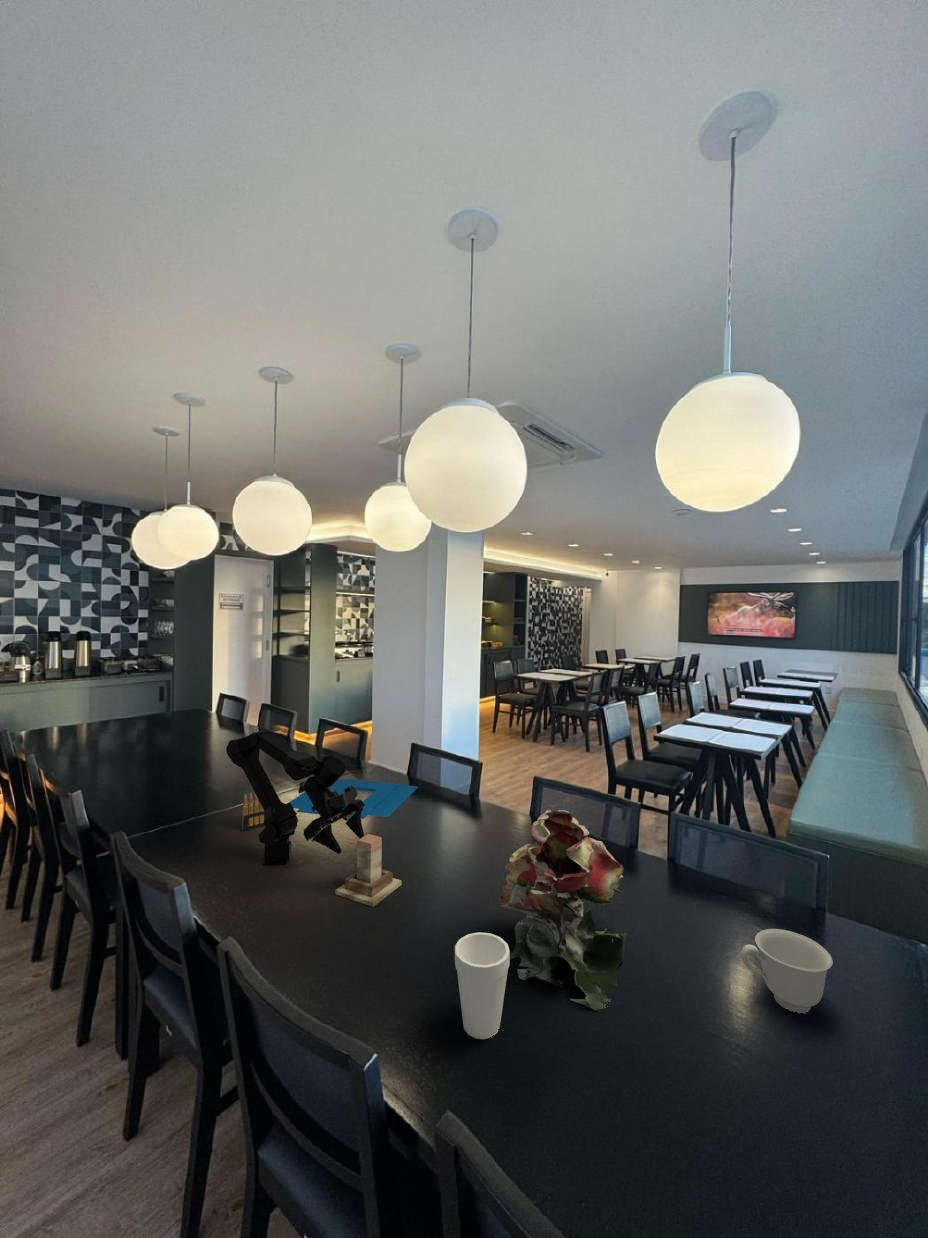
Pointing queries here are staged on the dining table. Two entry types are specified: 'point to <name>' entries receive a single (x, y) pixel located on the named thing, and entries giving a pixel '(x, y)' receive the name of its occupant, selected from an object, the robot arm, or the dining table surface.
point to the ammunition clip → (252, 814)
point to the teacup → (790, 967)
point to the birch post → (369, 858)
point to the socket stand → (368, 888)
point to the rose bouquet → (556, 880)
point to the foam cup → (482, 981)
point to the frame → (376, 804)
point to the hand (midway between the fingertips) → (352, 846)
